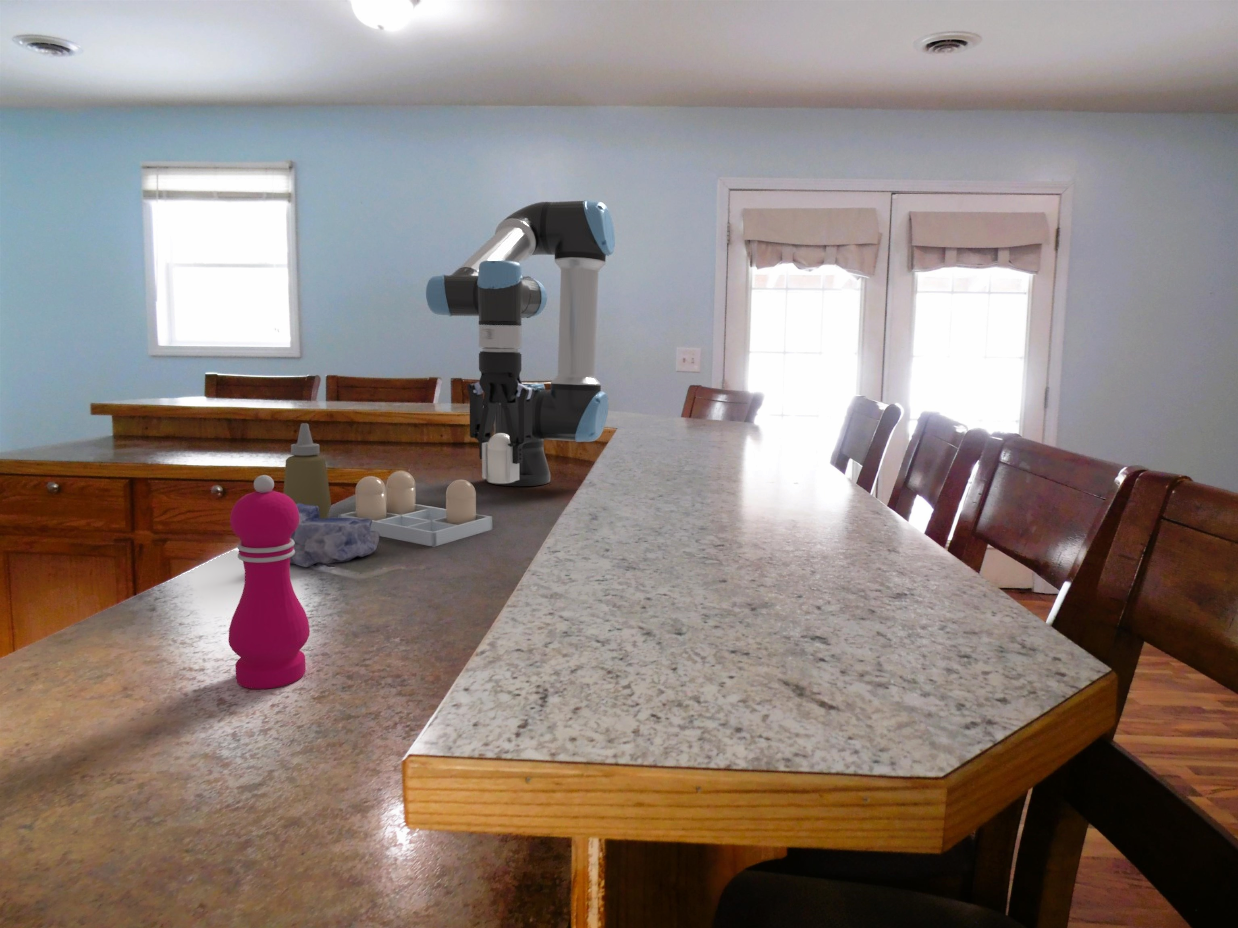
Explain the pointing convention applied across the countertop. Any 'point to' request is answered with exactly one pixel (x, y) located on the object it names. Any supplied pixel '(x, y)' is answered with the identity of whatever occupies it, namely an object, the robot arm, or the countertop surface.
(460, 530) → the carton
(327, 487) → the squeeze bottle
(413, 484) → the brown egg
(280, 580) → the pepper mill
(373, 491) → the brown egg
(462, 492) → the brown egg
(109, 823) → the countertop surface
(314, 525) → the mineral
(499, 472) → the egg
